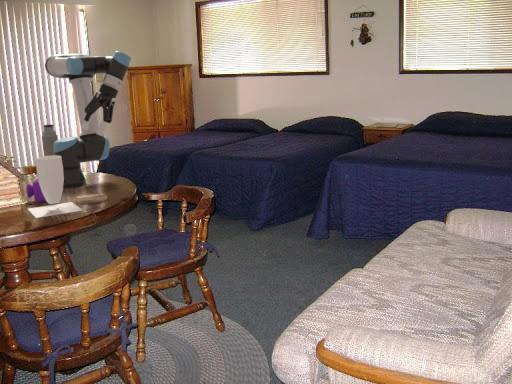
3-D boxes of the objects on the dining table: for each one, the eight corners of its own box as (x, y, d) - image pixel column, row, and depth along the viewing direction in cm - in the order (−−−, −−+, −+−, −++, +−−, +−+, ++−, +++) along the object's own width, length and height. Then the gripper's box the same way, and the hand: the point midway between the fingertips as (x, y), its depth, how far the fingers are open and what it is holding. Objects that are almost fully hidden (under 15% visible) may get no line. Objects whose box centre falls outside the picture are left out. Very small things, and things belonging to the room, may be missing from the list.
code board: (27, 209, 230) (27, 208, 230) (71, 202, 239) (71, 202, 239) (36, 218, 215) (35, 217, 215) (82, 210, 224) (82, 210, 224)
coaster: (72, 200, 244) (72, 196, 243) (101, 195, 250) (101, 192, 250) (80, 205, 233) (80, 202, 233) (110, 200, 240) (110, 197, 239)
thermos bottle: (43, 177, 298) (37, 125, 292) (51, 175, 306) (45, 124, 300) (57, 177, 297) (51, 125, 291) (64, 175, 305) (59, 123, 299)
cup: (64, 211, 222) (58, 158, 218) (37, 213, 222) (31, 159, 217) (70, 205, 233) (65, 154, 228) (45, 207, 232) (39, 155, 227)
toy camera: (26, 199, 248) (23, 177, 246) (58, 196, 253) (56, 174, 251) (27, 204, 238) (24, 182, 236) (60, 200, 243) (58, 178, 241)
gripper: (104, 81, 228) (84, 129, 228) (129, 97, 252) (112, 140, 252) (89, 75, 230) (69, 122, 229) (115, 91, 254) (98, 134, 254)
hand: (91, 132), depth 241 cm, fingers open, 13 cm apart
